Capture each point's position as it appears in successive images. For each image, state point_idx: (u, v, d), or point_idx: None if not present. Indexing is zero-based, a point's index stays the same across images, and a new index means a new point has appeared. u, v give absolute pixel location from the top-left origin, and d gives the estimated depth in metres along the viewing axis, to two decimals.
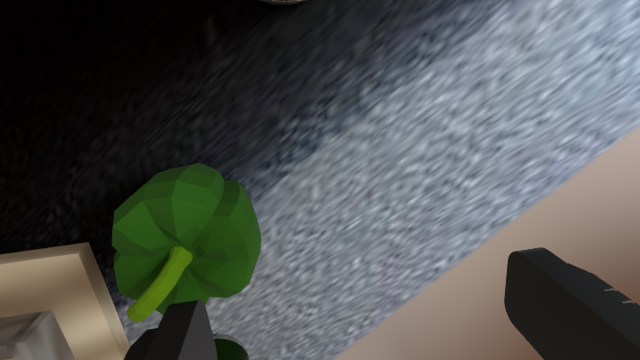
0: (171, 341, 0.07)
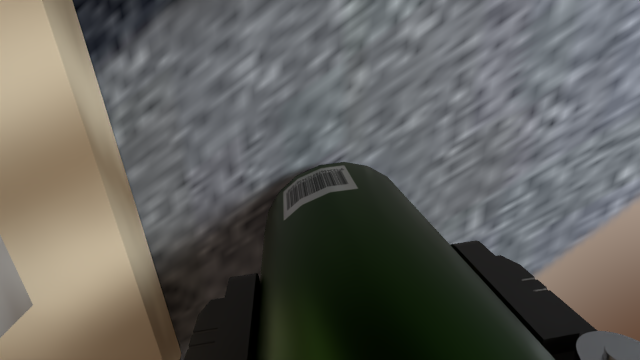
0: (241, 306, 0.08)
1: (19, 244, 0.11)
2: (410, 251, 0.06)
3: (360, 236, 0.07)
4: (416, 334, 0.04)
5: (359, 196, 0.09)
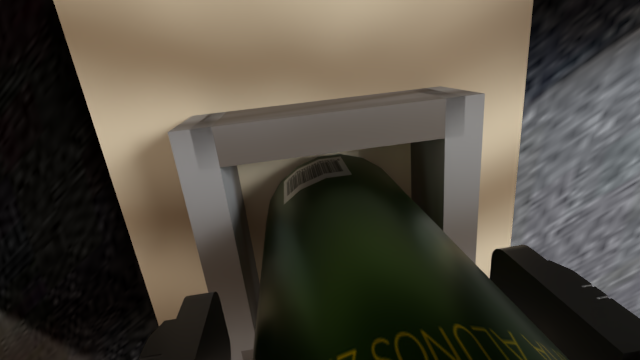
0: (190, 330, 0.07)
1: None
2: (394, 221, 0.07)
3: (351, 211, 0.08)
4: (393, 278, 0.05)
5: (353, 181, 0.10)
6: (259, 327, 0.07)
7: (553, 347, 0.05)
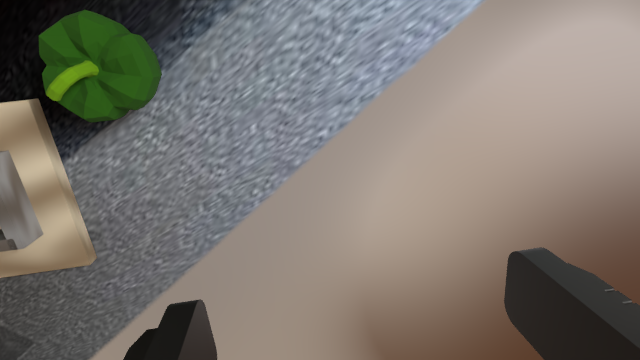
0: (171, 341, 0.07)
1: (39, 214, 0.36)
2: None
3: None
4: None
5: None
6: None
7: None
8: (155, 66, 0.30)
